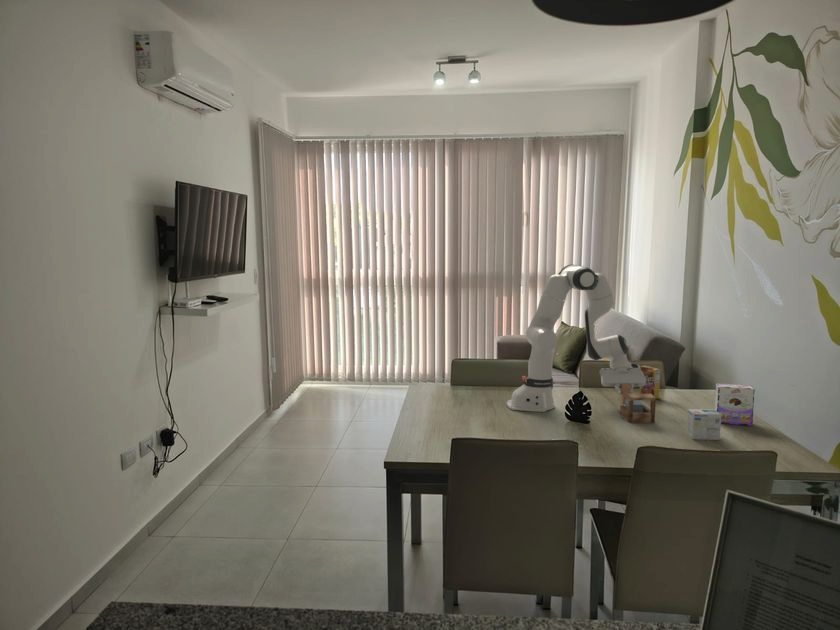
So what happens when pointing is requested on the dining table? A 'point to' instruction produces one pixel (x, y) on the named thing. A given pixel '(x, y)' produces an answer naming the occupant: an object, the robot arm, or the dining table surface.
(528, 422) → the dining table surface
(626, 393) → the tethered block
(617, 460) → the dining table surface
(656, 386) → the candy box
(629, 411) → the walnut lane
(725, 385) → the candy box
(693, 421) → the light bulb box
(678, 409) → the dining table surface
